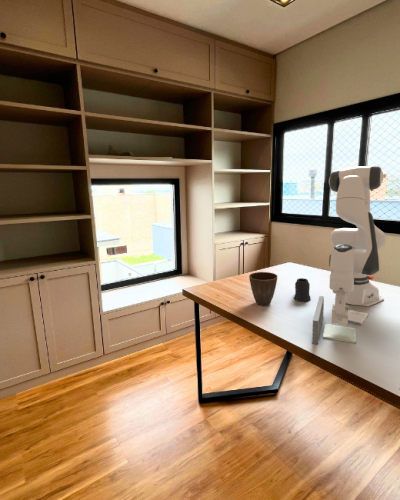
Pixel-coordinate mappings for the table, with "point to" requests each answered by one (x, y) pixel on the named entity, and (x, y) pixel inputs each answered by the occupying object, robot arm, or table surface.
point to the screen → (318, 320)
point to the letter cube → (344, 317)
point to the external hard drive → (356, 317)
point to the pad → (339, 333)
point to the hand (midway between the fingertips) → (340, 316)
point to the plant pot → (263, 287)
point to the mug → (302, 290)
